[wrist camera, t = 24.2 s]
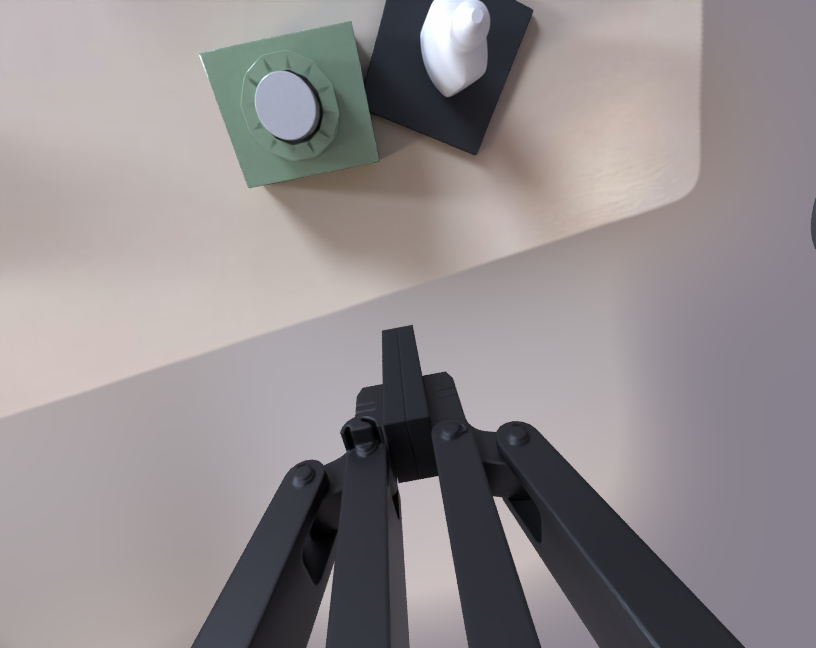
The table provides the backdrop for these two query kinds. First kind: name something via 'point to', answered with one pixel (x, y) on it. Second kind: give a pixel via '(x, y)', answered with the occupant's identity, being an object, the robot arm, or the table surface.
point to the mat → (412, 87)
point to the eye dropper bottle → (455, 43)
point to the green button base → (331, 83)
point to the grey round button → (287, 106)
